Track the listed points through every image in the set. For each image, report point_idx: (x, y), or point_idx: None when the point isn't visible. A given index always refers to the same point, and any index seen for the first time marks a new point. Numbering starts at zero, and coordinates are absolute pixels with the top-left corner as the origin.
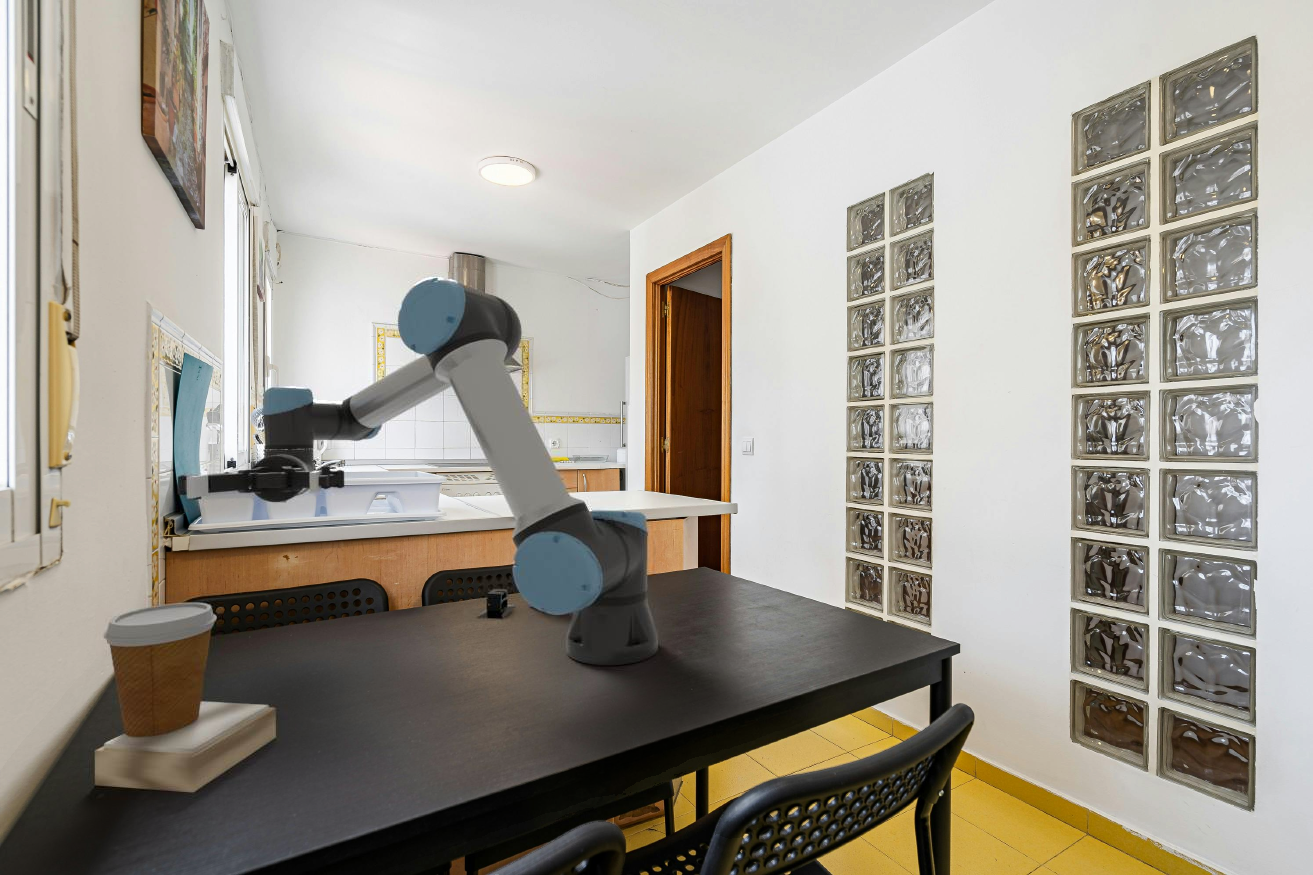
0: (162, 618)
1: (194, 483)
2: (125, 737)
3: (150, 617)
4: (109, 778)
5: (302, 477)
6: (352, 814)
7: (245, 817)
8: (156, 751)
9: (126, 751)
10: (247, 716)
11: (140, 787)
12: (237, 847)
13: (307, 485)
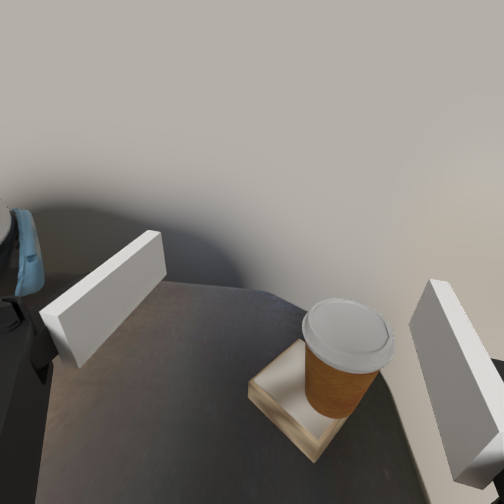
0: (346, 319)
1: (423, 298)
2: None
3: (359, 328)
4: None
5: (11, 477)
6: (231, 298)
7: (271, 318)
8: None
9: None
10: (270, 367)
11: None
12: (274, 303)
13: (36, 452)
